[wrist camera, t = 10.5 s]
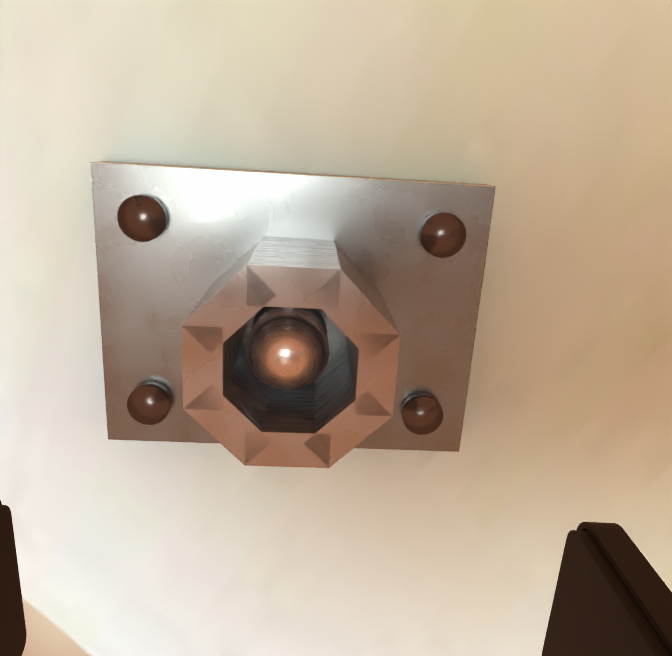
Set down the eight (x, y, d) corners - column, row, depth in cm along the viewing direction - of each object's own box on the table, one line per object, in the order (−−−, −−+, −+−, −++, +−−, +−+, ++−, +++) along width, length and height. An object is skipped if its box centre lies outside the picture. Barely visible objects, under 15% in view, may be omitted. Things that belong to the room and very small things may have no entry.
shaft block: (485, 184, 25) (546, 197, 18) (451, 436, 28) (492, 522, 22) (104, 161, 24) (25, 166, 17) (118, 424, 27) (58, 509, 21)
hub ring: (383, 242, 24) (406, 272, 18) (371, 398, 26) (387, 469, 20) (212, 233, 23) (180, 261, 18) (213, 392, 26) (184, 463, 20)
